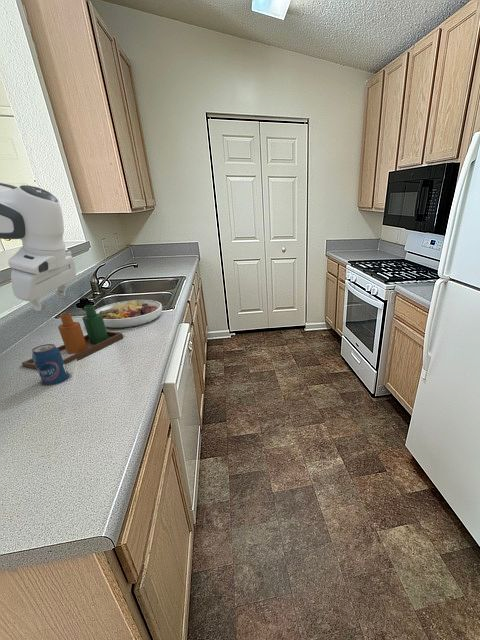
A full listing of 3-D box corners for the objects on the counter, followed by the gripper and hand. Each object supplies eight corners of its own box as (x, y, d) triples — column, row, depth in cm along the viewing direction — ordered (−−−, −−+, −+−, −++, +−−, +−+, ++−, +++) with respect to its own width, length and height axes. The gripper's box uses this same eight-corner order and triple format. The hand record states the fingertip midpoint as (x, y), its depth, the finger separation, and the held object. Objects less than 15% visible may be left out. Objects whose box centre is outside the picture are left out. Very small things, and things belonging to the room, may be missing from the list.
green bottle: (90, 346, 130) (78, 309, 123) (91, 340, 135) (79, 305, 128) (109, 343, 133) (98, 307, 126) (109, 337, 138) (99, 302, 131)
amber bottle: (67, 357, 121) (52, 318, 115) (69, 350, 127) (55, 313, 120) (87, 353, 124) (74, 315, 117) (88, 347, 129) (76, 310, 123)
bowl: (79, 326, 151) (73, 309, 147) (130, 306, 176) (127, 292, 172) (129, 334, 141) (125, 316, 138) (176, 312, 166) (173, 297, 163)
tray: (50, 374, 110) (48, 367, 109) (24, 368, 114) (21, 362, 113) (123, 338, 137) (122, 333, 136) (100, 335, 141) (98, 329, 140)
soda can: (41, 389, 101) (26, 354, 96) (46, 379, 107) (32, 345, 102) (68, 384, 104) (54, 349, 98) (71, 374, 109) (59, 341, 104)
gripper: (58, 243, 95) (61, 287, 102) (2, 262, 78) (11, 314, 85) (81, 249, 96) (83, 293, 103) (30, 270, 79) (37, 321, 86)
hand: (50, 302), depth 94 cm, fingers open, 8 cm apart
